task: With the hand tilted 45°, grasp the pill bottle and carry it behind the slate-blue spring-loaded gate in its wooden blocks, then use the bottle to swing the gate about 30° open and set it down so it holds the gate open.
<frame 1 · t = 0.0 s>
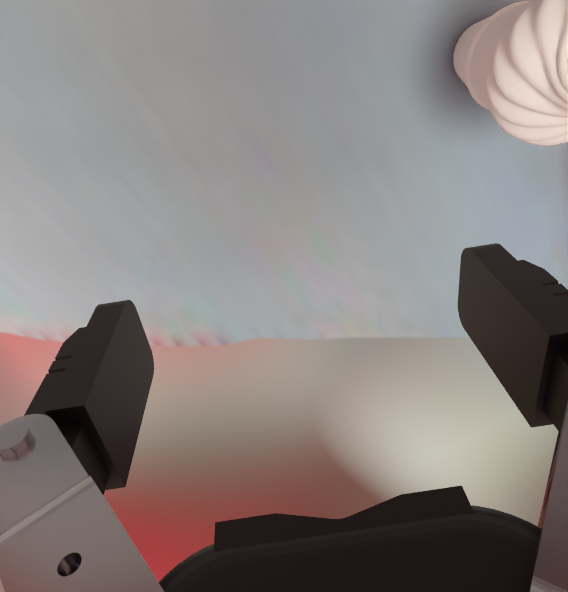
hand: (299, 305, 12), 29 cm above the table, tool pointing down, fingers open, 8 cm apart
soft serve ice cream cone: (479, 52, 36), on the table
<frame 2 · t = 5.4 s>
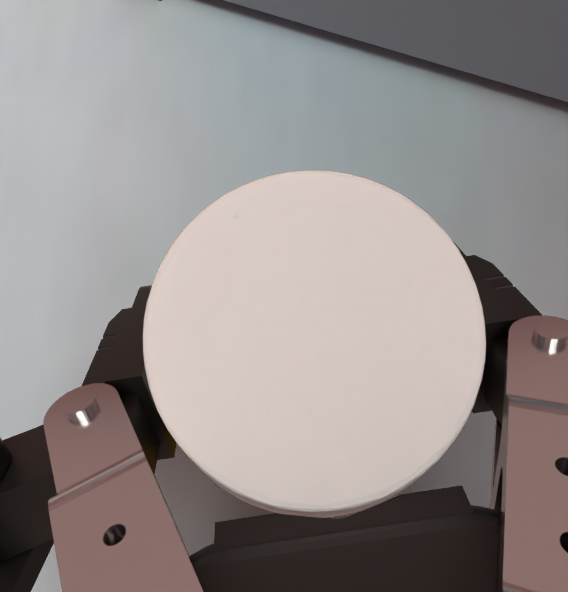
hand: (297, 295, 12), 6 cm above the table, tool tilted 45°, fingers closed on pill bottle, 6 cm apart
pill bottle: (308, 374, 17), on the table, touching gripper
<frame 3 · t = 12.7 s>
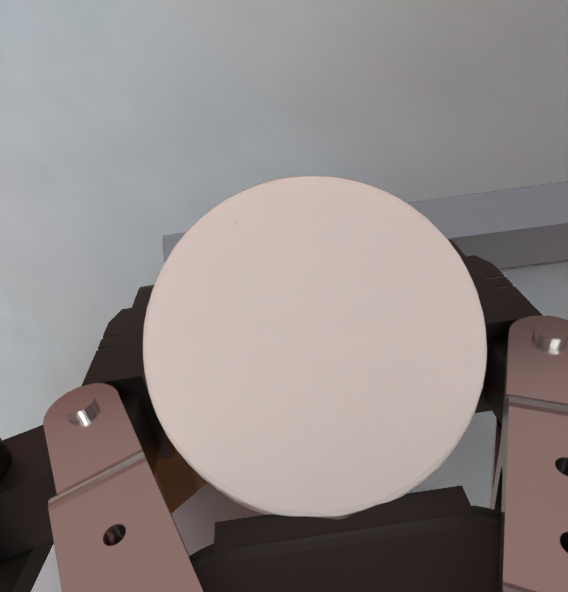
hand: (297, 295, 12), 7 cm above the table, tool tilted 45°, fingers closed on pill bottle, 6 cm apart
gate: (497, 221, 16), point 3 cm above the table, hinge at 15.8°, touching pill bottle
pill bottle: (308, 377, 17), point 1 cm above the table, touching gate, gripper
when the fingers open (7 cm above the table, at t = 14.2 s): pill bottle drops 1 cm, on the table.
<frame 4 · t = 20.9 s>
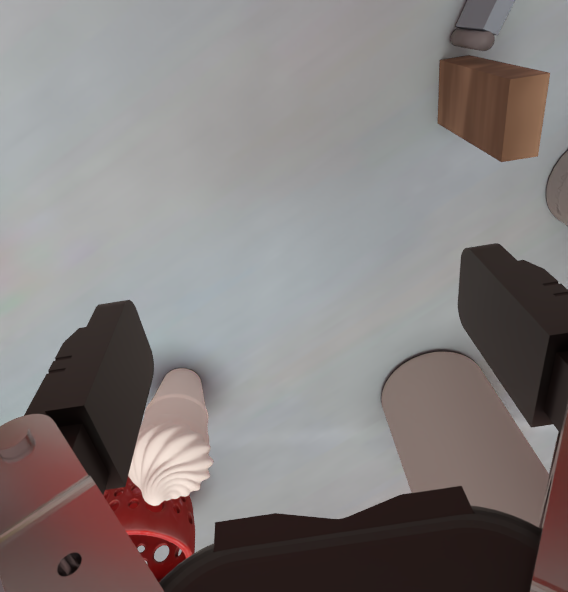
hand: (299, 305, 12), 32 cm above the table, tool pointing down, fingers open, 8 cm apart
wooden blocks: (455, 36, 38), on the table
plant pot: (151, 473, 63), on the table
cylinder vase: (429, 387, 58), on the table
soft serve ice cream cone: (182, 381, 55), on the table
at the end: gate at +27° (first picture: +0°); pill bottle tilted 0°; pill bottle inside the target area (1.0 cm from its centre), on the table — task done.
